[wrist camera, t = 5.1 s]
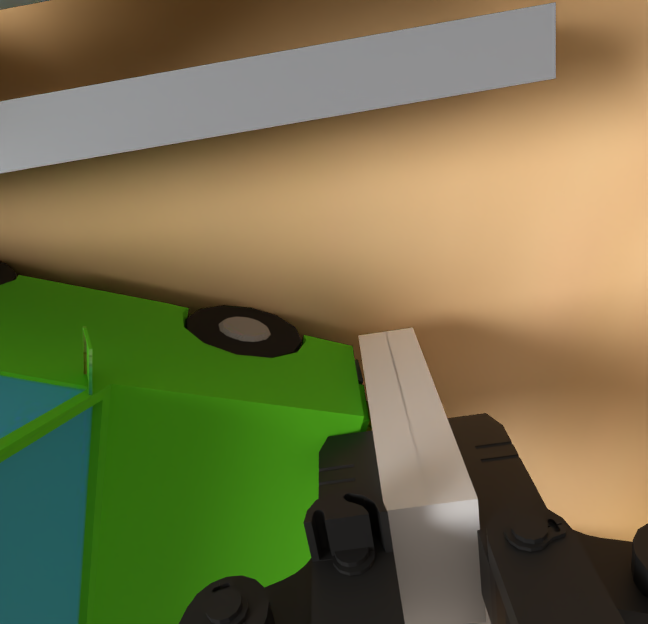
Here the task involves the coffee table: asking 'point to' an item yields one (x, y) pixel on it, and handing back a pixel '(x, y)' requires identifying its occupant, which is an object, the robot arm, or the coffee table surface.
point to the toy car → (155, 449)
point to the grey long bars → (280, 89)
